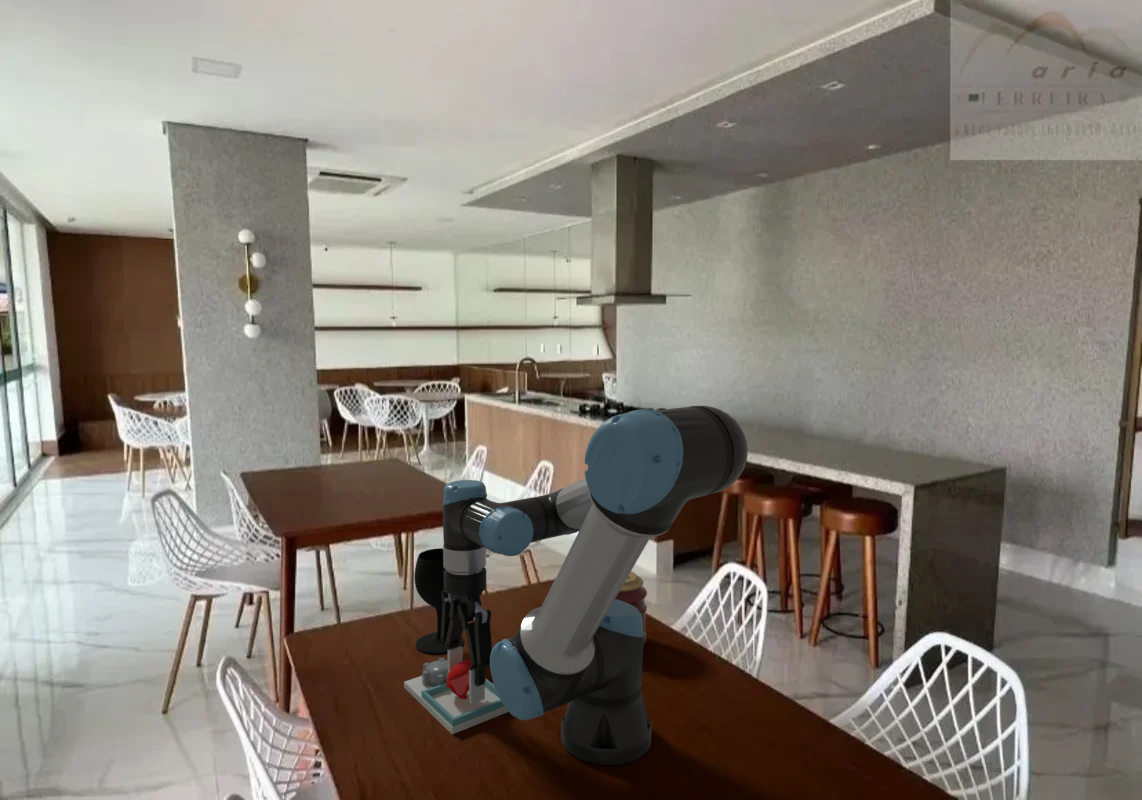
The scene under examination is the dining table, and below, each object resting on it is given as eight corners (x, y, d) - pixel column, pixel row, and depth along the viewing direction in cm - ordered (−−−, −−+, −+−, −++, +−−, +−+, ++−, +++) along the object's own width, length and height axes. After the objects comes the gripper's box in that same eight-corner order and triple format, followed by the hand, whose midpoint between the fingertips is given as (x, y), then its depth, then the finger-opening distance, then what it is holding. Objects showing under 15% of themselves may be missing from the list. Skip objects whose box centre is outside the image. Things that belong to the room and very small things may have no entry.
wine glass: (406, 642, 147) (405, 553, 145) (447, 629, 154) (446, 544, 152) (431, 659, 139) (430, 566, 138) (473, 644, 146) (472, 555, 145)
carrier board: (511, 710, 121) (511, 690, 121) (452, 734, 114) (452, 713, 113) (459, 668, 136) (459, 651, 135) (404, 687, 128) (403, 669, 128)
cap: (497, 672, 123) (477, 647, 125) (480, 675, 117) (460, 650, 120) (471, 705, 123) (451, 680, 126) (452, 710, 118) (433, 683, 121)
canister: (658, 645, 147) (660, 566, 146) (615, 663, 139) (616, 580, 137) (616, 625, 157) (618, 551, 155) (574, 641, 149) (575, 563, 147)
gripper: (514, 579, 114) (514, 708, 116) (456, 549, 130) (457, 663, 132) (475, 589, 109) (476, 723, 111) (420, 557, 125) (421, 675, 127)
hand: (465, 691), depth 122 cm, fingers closed on cap, 7 cm apart
